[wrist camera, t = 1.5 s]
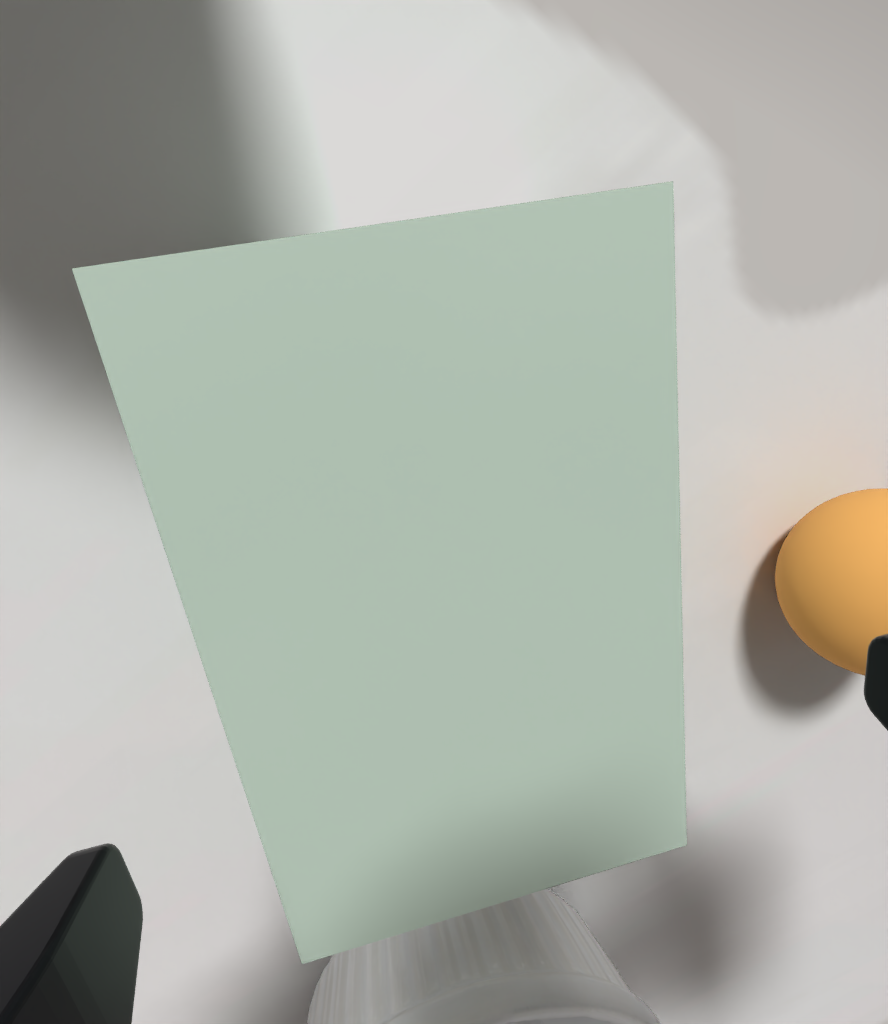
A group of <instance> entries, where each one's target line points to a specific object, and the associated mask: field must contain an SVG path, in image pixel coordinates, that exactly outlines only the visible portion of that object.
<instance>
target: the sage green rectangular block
mask: <svg viewBox="0 0 888 1024" xmlns="http://www.w3.org/2000/svg"><path fill="white" fill-rule="evenodd" d="M72 271H73V274H74V277H75V280H76V283H77V286H78V289H79V292H80V295H81V298H82V301H83V304H84V307H85V310H86V313H87V316H88V319H89V322H90V325H91V328H92V331H93V334H94V337H95V340H96V343H97V346H98V349H99V352H100V355H101V358H102V361H103V365H104V368H105V371H106V374H107V377H108V380H109V383H110V386H111V389H112V392H113V395H114V398H115V401H116V404H117V407H118V410H119V413H120V416H121V419H122V422H123V425H124V428H125V431H126V434H127V437H128V440H129V443H130V446H131V449H132V452H133V455H134V458H135V461H136V464H137V467H138V470H139V473H140V476H141V479H142V482H143V485H144V488H145V491H146V494H147V497H148V500H149V503H150V506H151V510H152V513H153V516H154V519H155V522H156V525H157V528H158V531H159V534H160V537H161V540H162V543H163V546H164V549H165V552H166V555H167V558H168V561H169V564H170V567H171V570H172V573H173V576H174V579H175V582H176V585H177V588H178V591H179V594H180V597H181V600H182V603H183V606H184V609H185V612H186V615H187V618H188V621H189V624H190V627H191V630H192V633H193V636H194V639H195V642H196V645H197V648H198V651H199V655H200V658H201V661H202V664H203V667H204V670H205V673H206V676H207V679H208V682H209V685H210V688H211V691H212V694H213V697H214V700H215V703H216V706H217V709H218V712H219V715H220V718H221V721H222V724H223V727H224V730H225V733H226V736H227V739H228V742H229V745H230V748H231V751H232V754H233V757H234V760H235V763H236V766H237V769H238V772H239V775H240V778H241V781H242V784H243V787H244V790H245V793H246V796H247V800H248V803H249V806H250V809H251V812H252V815H253V818H254V821H255V824H256V827H257V830H258V833H259V836H260V839H261V842H262V845H263V848H264V851H265V854H266V857H267V860H268V863H269V866H270V869H271V872H272V875H273V878H274V881H275V884H276V887H277V890H278V893H279V896H280V899H281V902H282V905H283V908H284V911H285V914H286V917H287V920H288V923H289V926H290V929H291V932H292V935H293V938H294V941H295V945H296V948H297V951H298V954H299V957H300V960H301V963H302V964H305V963H308V962H311V961H315V960H318V959H321V958H324V957H328V956H331V955H334V954H337V953H340V952H344V951H347V950H350V949H353V948H357V947H360V946H363V945H366V944H370V943H373V942H376V941H379V940H382V939H386V938H389V937H392V936H395V935H399V934H402V933H405V932H408V931H412V930H415V929H418V928H421V927H424V926H428V925H431V924H434V923H437V922H441V921H444V920H447V919H450V918H454V917H457V916H460V915H463V914H466V913H470V912H473V911H476V910H479V909H483V908H486V907H489V906H492V905H496V904H499V903H502V902H505V901H508V900H512V899H515V898H518V897H521V896H525V895H528V894H531V893H534V892H538V891H541V890H544V889H547V888H550V887H554V886H557V885H560V884H563V883H567V882H570V881H573V880H576V879H580V878H583V877H586V876H589V875H592V874H596V873H599V872H602V871H605V870H609V869H612V868H615V867H618V866H622V865H625V864H628V863H631V862H634V861H638V860H641V859H644V858H647V857H651V856H654V855H657V854H660V853H664V852H667V851H670V850H673V849H676V848H680V847H683V846H686V845H687V832H686V783H685V734H684V685H683V637H682V588H681V539H680V490H679V441H678V392H677V343H676V295H675V246H674V197H673V181H672V182H665V183H658V184H651V185H644V186H638V187H631V188H624V189H617V190H610V191H603V192H596V193H589V194H582V195H575V196H569V197H562V198H555V199H548V200H541V201H534V202H527V203H520V204H513V205H506V206H500V207H493V208H486V209H479V210H472V211H465V212H458V213H451V214H444V215H437V216H431V217H424V218H417V219H410V220H403V221H396V222H389V223H382V224H375V225H368V226H362V227H355V228H348V229H341V230H334V231H327V232H320V233H313V234H306V235H299V236H292V237H286V238H279V239H272V240H265V241H258V242H251V243H244V244H237V245H230V246H223V247H217V248H210V249H203V250H196V251H189V252H182V253H175V254H168V255H161V256H154V257H148V258H141V259H134V260H127V261H120V262H113V263H106V264H99V265H92V266H85V267H79V268H72Z"/></svg>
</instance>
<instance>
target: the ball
mask: <svg viewBox="0 0 888 1024" xmlns="http://www.w3.org/2000/svg"><path fill="white" fill-rule="evenodd" d="M775 585H776V592H777V598H778V601H779V604H780V607H781V609H782V612H783V614H784V616H785V618H786V620H787V621H788V623H789V625H790V626H791V628H792V629H793V630H794V632H795V633H796V634H797V635H798V636H799V638H800V639H801V640H802V641H803V642H804V643H805V644H806V645H807V646H809V647H810V648H811V649H812V650H813V651H815V652H816V653H817V654H818V655H820V656H822V657H823V658H825V659H827V660H828V661H830V662H832V663H833V664H835V665H837V666H839V667H842V668H844V669H847V670H849V671H852V672H854V673H858V674H862V675H865V673H866V663H867V652H868V646H869V644H870V642H871V641H872V639H874V638H876V637H878V636H881V635H884V634H888V489H867V490H861V491H856V492H851V493H847V494H844V495H840V496H838V497H836V498H833V499H831V500H829V501H826V502H824V503H822V504H821V505H819V506H817V507H816V508H814V509H813V510H812V511H810V512H809V513H808V514H806V515H805V516H804V517H803V518H802V519H801V520H800V521H799V522H798V523H797V524H796V525H795V526H794V527H793V528H792V530H791V531H790V532H789V534H788V536H787V537H786V539H785V540H784V543H783V545H782V547H781V549H780V552H779V555H778V559H777V563H776V571H775Z"/></svg>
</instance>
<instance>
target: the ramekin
mask: <svg viewBox="0 0 888 1024" xmlns="http://www.w3.org/2000/svg"><path fill="white" fill-rule="evenodd" d="M307 1024H660V1023H659V1021H658V1019H657V1017H656V1016H655V1015H654V1013H653V1012H652V1011H651V1009H650V1008H649V1007H648V1006H647V1005H646V1004H645V1003H644V1002H643V1001H642V1000H640V999H639V998H638V997H637V996H635V995H634V994H633V993H632V992H631V991H630V989H629V988H628V986H627V985H626V983H625V982H624V980H623V979H622V977H621V975H620V974H619V972H618V971H617V969H616V968H615V966H614V965H613V963H612V962H611V961H610V959H609V958H608V956H607V955H606V954H605V952H604V951H603V949H602V948H601V946H600V945H599V943H598V942H597V940H596V939H595V937H594V936H593V935H592V933H591V932H590V930H589V929H588V927H587V926H586V925H585V923H584V922H583V920H582V919H581V917H580V916H579V915H578V913H577V912H576V911H575V910H574V909H573V908H572V907H571V906H569V905H568V904H567V903H566V902H565V901H564V900H563V899H562V898H560V897H558V896H557V895H555V894H554V893H552V892H551V891H549V890H548V889H544V890H541V891H538V892H534V893H531V894H528V895H525V896H521V897H518V898H515V899H512V900H508V901H505V902H502V903H499V904H496V905H492V906H489V907H486V908H483V909H479V910H476V911H473V912H470V913H466V914H463V915H460V916H457V917H454V918H450V919H447V920H444V921H441V922H437V923H434V924H431V925H428V926H424V927H421V928H418V929H415V930H412V931H408V932H405V933H402V934H399V935H395V936H392V937H389V938H386V939H382V940H379V941H376V942H373V943H370V944H366V945H363V946H360V947H357V948H353V949H350V950H347V951H344V952H340V953H337V954H334V955H333V956H332V957H331V959H330V961H329V963H328V964H327V966H326V967H325V968H324V970H323V972H322V974H321V977H320V979H319V981H318V983H317V985H316V988H315V991H314V994H313V998H312V1001H311V1004H310V1008H309V1013H308V1019H307Z"/></svg>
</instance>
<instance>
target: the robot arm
mask: <svg viewBox="0 0 888 1024" xmlns="http://www.w3.org/2000/svg"><path fill="white" fill-rule="evenodd" d="M864 696H865V700H866V703H867V705H868V707H869V709H870V710H871V712H872V713H873V714H874V716H875V717H876V718H877V719H878V720H879V721H880V722H881V723H882V725H883V726H884V727H885V728H886V729H887V730H888V634H884V635H881V636H878V637H876V638H874V639H872V641H871V642H870V644H869V646H868V652H867V663H866V673H865V684H864ZM142 922H143V911H142V904H141V899H140V896H139V894H138V891H137V889H136V887H135V884H134V882H133V880H132V878H131V875H130V873H129V871H128V868H127V866H126V864H125V862H124V859H123V857H122V855H121V853H120V851H119V849H118V848H117V847H116V846H115V845H113V844H103V845H99V846H95V847H91V848H88V849H84V850H80V851H77V852H74V853H72V854H70V855H69V856H67V857H66V858H65V859H64V860H63V861H62V862H61V863H60V864H59V865H58V866H57V867H56V868H55V869H54V870H53V872H52V873H51V874H50V875H49V876H48V877H47V878H46V879H45V880H44V881H43V882H42V883H41V884H40V885H39V886H38V887H37V888H36V889H35V890H34V891H33V892H32V894H31V895H30V896H29V897H28V898H27V899H26V900H25V901H24V902H23V903H22V904H21V905H20V906H19V907H18V908H17V909H16V910H15V911H14V912H13V913H12V914H11V916H10V917H9V918H8V919H7V920H6V921H5V922H4V923H3V924H2V925H1V926H0V1024H131V1022H132V1013H133V1004H134V995H135V986H136V977H137V968H138V959H139V950H140V941H141V932H142Z"/></svg>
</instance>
